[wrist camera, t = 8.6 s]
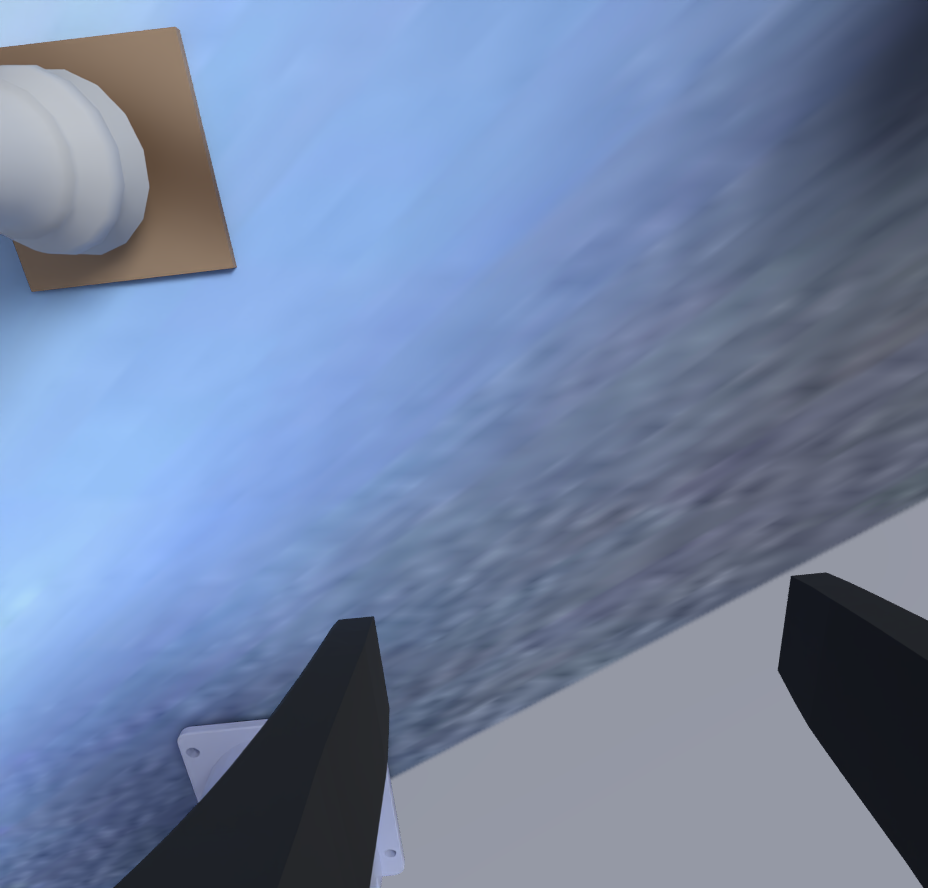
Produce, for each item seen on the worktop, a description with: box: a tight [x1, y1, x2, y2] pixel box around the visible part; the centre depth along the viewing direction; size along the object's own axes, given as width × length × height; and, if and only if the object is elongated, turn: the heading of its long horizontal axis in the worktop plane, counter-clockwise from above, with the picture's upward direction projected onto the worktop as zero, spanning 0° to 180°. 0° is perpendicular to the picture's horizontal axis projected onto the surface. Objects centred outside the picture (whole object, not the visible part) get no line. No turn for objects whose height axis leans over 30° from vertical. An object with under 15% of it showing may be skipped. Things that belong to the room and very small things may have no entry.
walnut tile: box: [0, 27, 237, 292], centre depth 17 cm, size 6×6×1 cm
